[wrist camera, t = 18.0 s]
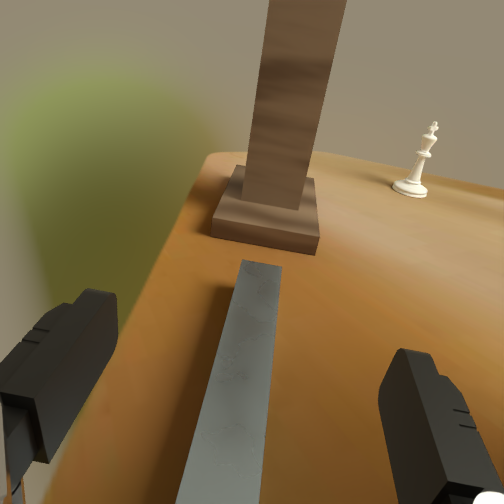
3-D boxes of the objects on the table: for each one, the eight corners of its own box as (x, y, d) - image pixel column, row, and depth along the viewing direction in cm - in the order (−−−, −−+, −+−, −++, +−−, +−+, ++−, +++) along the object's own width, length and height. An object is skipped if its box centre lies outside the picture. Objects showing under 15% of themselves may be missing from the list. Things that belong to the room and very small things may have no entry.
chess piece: (433, 196, 56) (462, 126, 51) (412, 199, 53) (440, 127, 48) (405, 183, 59) (430, 117, 54) (385, 186, 57) (409, 116, 51)
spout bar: (223, 760, 11) (235, 739, 9) (121, 736, 11) (117, 713, 9) (274, 298, 30) (281, 266, 28) (237, 291, 30) (242, 259, 28)
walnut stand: (315, 266, 34) (474, -303, 18) (205, 246, 34) (263, -337, 18) (309, 187, 51) (387, -139, 35) (236, 174, 51) (280, -157, 35)
